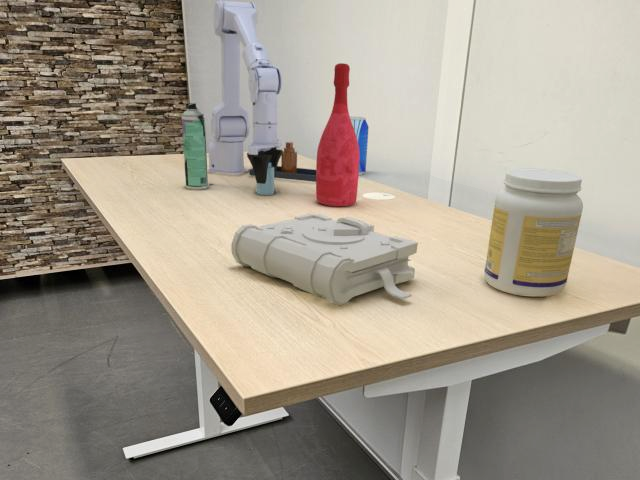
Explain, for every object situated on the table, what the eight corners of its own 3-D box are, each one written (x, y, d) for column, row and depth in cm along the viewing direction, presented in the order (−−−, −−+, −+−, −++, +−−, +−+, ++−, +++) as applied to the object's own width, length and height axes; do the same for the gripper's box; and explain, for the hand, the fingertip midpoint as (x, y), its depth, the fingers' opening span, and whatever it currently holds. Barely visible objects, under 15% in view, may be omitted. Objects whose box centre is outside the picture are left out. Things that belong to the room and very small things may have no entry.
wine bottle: (307, 203, 134) (311, 62, 121) (327, 196, 142) (332, 62, 129) (345, 209, 130) (353, 64, 117) (363, 202, 138) (372, 64, 125)
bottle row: (255, 173, 163) (255, 140, 159) (262, 171, 166) (262, 138, 163) (293, 177, 159) (293, 143, 156) (299, 174, 163) (299, 142, 159)
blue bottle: (253, 194, 141) (253, 156, 137) (261, 190, 145) (260, 153, 141) (270, 195, 140) (270, 157, 136) (277, 192, 144) (277, 155, 140)
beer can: (365, 178, 166) (369, 119, 159) (336, 176, 166) (339, 118, 159) (364, 173, 173) (368, 116, 167) (336, 171, 173) (339, 115, 167)
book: (357, 323, 74) (361, 266, 71) (228, 267, 92) (226, 220, 88) (444, 288, 86) (451, 239, 83) (315, 245, 104) (317, 203, 101)
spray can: (210, 186, 148) (206, 103, 140) (204, 190, 143) (200, 104, 135) (189, 184, 148) (184, 102, 140) (183, 189, 143) (177, 103, 135)
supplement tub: (576, 285, 90) (602, 175, 83) (545, 306, 81) (571, 186, 74) (503, 266, 97) (521, 164, 90) (468, 283, 89) (484, 172, 82)
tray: (249, 177, 161) (249, 169, 160) (262, 171, 169) (262, 164, 168) (320, 184, 155) (321, 176, 154) (331, 178, 163) (331, 171, 162)
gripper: (268, 127, 128) (268, 188, 134) (292, 121, 141) (291, 178, 146) (239, 124, 130) (241, 185, 136) (265, 119, 143) (266, 175, 148)
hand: (265, 181), depth 141 cm, fingers open, 5 cm apart
